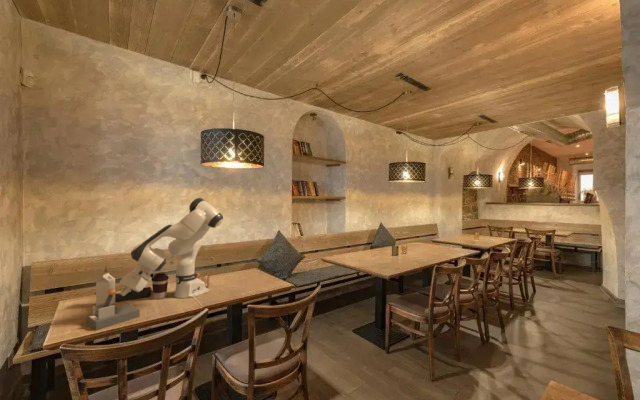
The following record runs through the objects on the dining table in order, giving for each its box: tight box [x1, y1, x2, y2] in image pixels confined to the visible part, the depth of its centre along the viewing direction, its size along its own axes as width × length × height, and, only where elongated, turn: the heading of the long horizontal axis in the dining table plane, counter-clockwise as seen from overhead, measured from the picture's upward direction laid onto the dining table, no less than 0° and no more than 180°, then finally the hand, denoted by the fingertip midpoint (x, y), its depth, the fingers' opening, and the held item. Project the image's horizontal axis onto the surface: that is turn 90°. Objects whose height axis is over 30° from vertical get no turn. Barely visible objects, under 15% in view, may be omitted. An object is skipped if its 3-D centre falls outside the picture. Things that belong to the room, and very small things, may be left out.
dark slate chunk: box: [115, 286, 153, 303], centre depth 194 cm, size 15×22×5 cm
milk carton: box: [95, 272, 116, 306], centre depth 179 cm, size 7×7×19 cm
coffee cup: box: [151, 273, 170, 300], centre depth 193 cm, size 10×10×15 cm
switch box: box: [85, 303, 141, 331], centre depth 158 cm, size 20×14×9 cm
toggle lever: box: [103, 289, 117, 308], centre depth 156 cm, size 3×3×12 cm
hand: (121, 295), depth 161 cm, fingers closed
